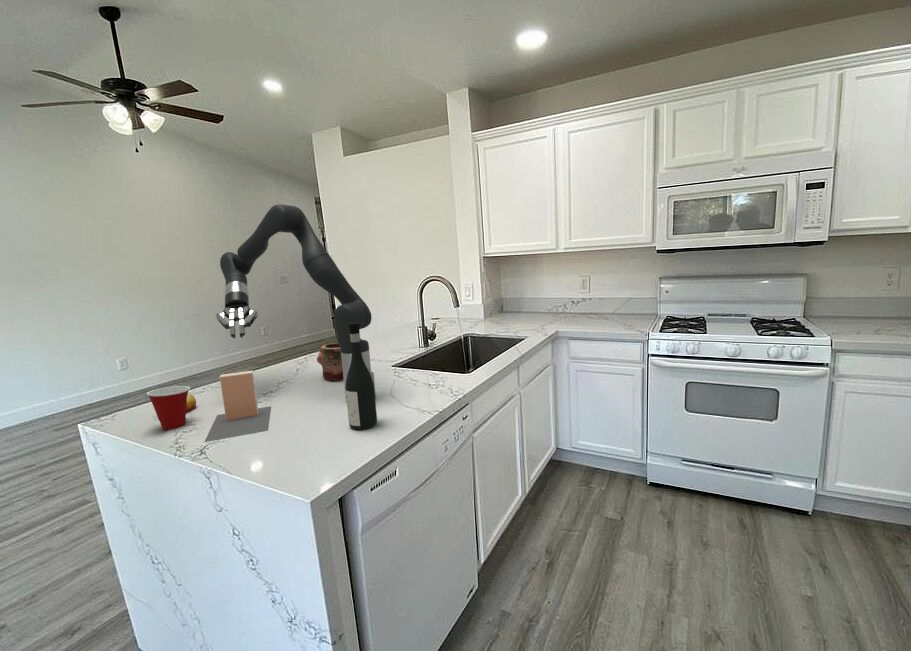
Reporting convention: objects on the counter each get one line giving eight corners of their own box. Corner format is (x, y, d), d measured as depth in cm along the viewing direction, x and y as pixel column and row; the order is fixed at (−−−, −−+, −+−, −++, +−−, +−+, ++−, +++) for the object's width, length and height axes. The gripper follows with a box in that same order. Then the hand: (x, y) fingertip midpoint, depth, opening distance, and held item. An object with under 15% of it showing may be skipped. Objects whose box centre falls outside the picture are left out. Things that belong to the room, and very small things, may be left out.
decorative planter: (369, 375, 174) (366, 342, 171) (353, 384, 162) (349, 349, 160) (328, 373, 180) (325, 341, 178) (310, 381, 169) (306, 347, 167)
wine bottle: (353, 433, 117) (342, 326, 112) (346, 423, 124) (336, 323, 119) (381, 426, 121) (372, 322, 116) (373, 417, 128) (364, 319, 123)
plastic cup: (203, 422, 131) (197, 385, 129) (168, 436, 122) (161, 396, 120) (181, 418, 136) (175, 382, 134) (145, 431, 126) (138, 393, 124)
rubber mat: (217, 416, 136) (217, 414, 136) (271, 407, 141) (271, 406, 141) (204, 443, 115) (204, 441, 115) (268, 432, 121) (268, 430, 121)
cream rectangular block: (227, 418, 132) (220, 374, 130) (258, 412, 136) (252, 370, 133) (226, 421, 130) (219, 377, 127) (258, 415, 133) (252, 372, 131)
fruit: (204, 408, 143) (193, 389, 140) (171, 427, 136) (159, 407, 133) (193, 401, 150) (182, 382, 147) (162, 418, 143) (150, 399, 140)
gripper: (212, 291, 146) (211, 332, 136) (256, 288, 150) (258, 327, 141) (217, 305, 151) (217, 345, 142) (259, 302, 156) (261, 340, 147)
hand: (237, 336), depth 142 cm, fingers closed
